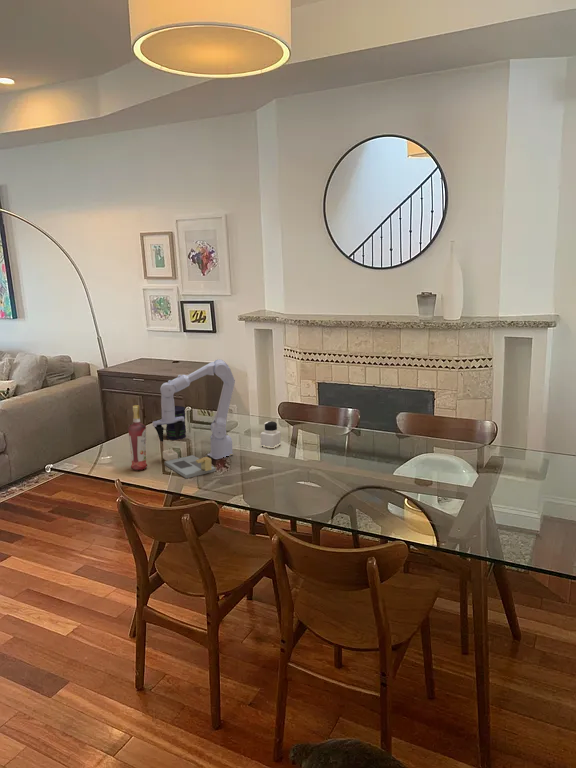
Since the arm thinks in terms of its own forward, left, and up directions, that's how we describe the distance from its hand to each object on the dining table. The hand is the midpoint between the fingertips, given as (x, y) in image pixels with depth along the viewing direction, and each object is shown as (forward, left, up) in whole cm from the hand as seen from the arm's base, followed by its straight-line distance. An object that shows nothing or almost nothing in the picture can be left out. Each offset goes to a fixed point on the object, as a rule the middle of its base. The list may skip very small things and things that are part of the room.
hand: (169, 439), depth 264 cm
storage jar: (-17, -28, -10) cm, 34 cm away
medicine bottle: (-47, +12, -10) cm, 49 cm away
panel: (-2, +15, -9) cm, 18 cm away
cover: (0, 0, -10) cm, 10 cm away
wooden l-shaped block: (-3, +24, -8) cm, 26 cm away
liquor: (+16, +3, -10) cm, 19 cm away
